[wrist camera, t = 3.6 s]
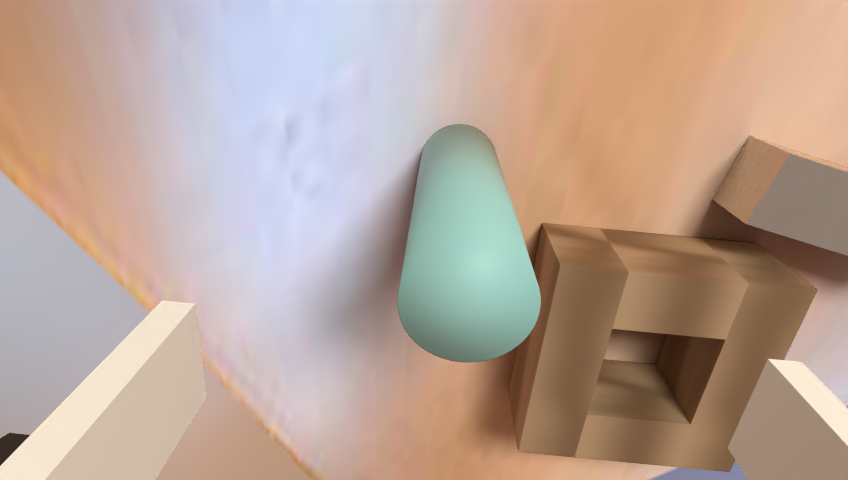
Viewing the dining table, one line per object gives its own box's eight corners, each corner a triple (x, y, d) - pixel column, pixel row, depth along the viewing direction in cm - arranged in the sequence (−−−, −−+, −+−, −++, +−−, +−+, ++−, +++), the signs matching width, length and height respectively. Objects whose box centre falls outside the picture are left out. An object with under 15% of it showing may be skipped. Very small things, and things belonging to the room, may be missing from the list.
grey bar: (710, 197, 27) (745, 224, 24) (747, 134, 26) (790, 153, 23) (873, 248, 28) (928, 281, 25) (918, 190, 27) (983, 216, 24)
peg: (417, 194, 28) (393, 355, 15) (424, 120, 26) (402, 233, 13) (490, 200, 28) (527, 368, 15) (501, 128, 26) (553, 247, 13)
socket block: (508, 390, 33) (518, 451, 29) (542, 223, 28) (560, 265, 24) (691, 407, 33) (729, 472, 29) (758, 243, 28) (817, 289, 24)
